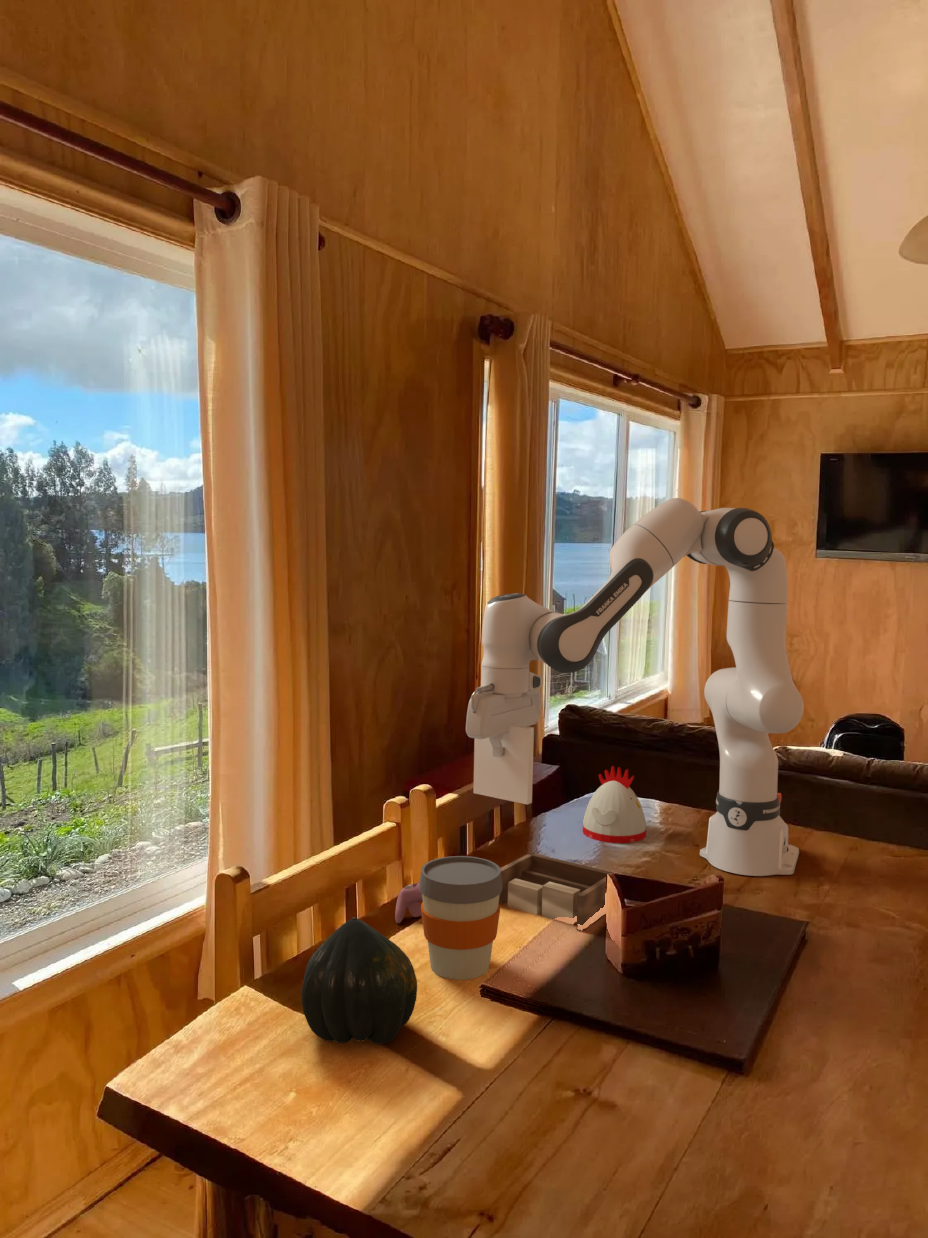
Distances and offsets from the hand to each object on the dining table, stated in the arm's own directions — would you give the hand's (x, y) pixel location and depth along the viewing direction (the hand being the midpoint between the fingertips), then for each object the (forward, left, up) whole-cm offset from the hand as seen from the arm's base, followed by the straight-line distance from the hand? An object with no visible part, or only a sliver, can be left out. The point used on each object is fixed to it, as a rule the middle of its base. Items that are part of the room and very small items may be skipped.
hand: (503, 755), depth 171 cm
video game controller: (+21, -1, -25) cm, 33 cm away
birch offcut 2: (+7, +17, -25) cm, 31 cm away
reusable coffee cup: (+32, +14, -25) cm, 43 cm away
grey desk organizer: (+3, +14, -25) cm, 28 cm away
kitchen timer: (-40, +4, -25) cm, 47 cm away
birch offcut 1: (+7, +10, -25) cm, 28 cm away
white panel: (0, 0, -8) cm, 8 cm away
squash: (+55, +14, -25) cm, 62 cm away
